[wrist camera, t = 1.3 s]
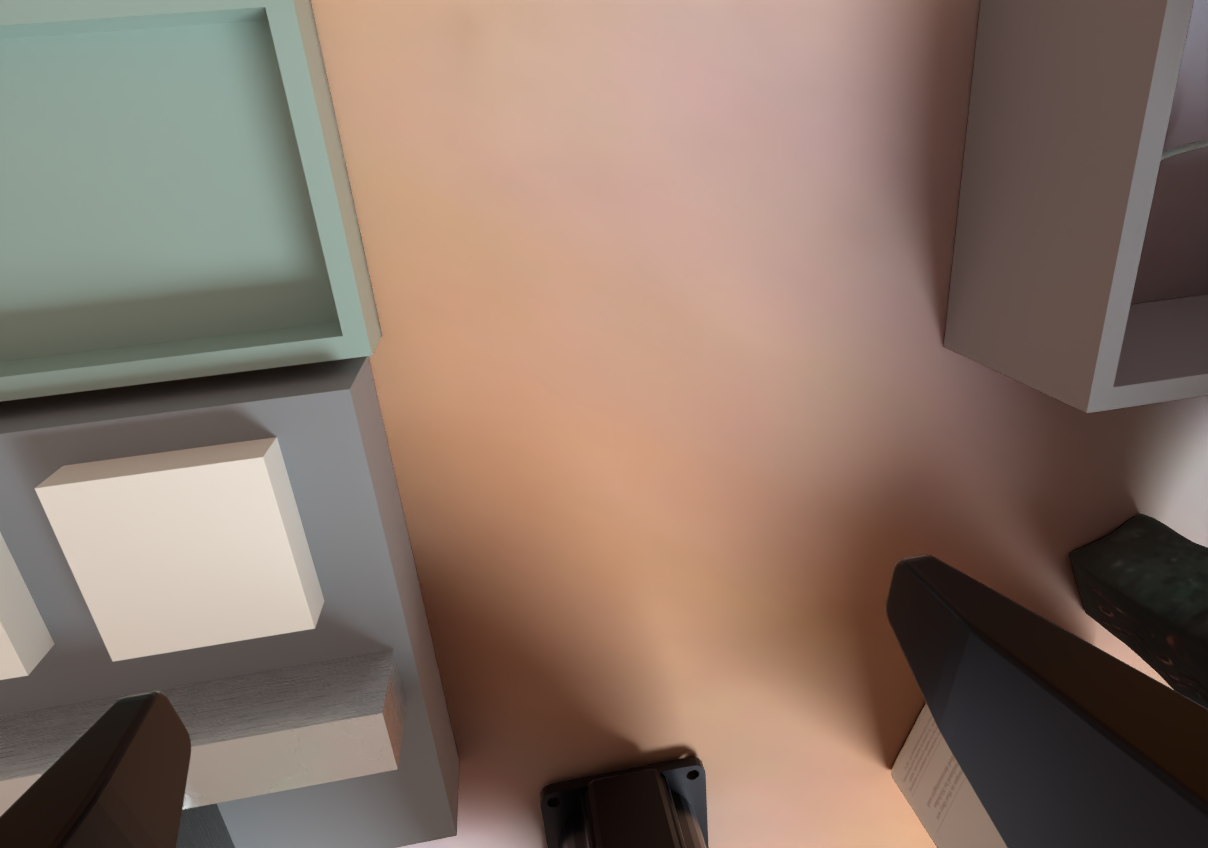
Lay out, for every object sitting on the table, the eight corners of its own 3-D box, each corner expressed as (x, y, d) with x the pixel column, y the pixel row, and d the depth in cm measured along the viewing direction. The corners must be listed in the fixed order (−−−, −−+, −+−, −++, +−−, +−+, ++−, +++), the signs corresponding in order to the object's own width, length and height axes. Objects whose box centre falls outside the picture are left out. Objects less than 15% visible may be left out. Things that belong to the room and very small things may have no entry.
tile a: (324, 600, 20) (315, 628, 19) (133, 631, 19) (112, 662, 18) (276, 437, 18) (262, 456, 17) (63, 465, 17) (34, 488, 16)
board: (459, 762, 27) (456, 835, 24) (-2, 849, 25) (-62, 938, 22) (368, 354, 20) (349, 388, 18) (-258, 431, 19) (-386, 483, 16)
